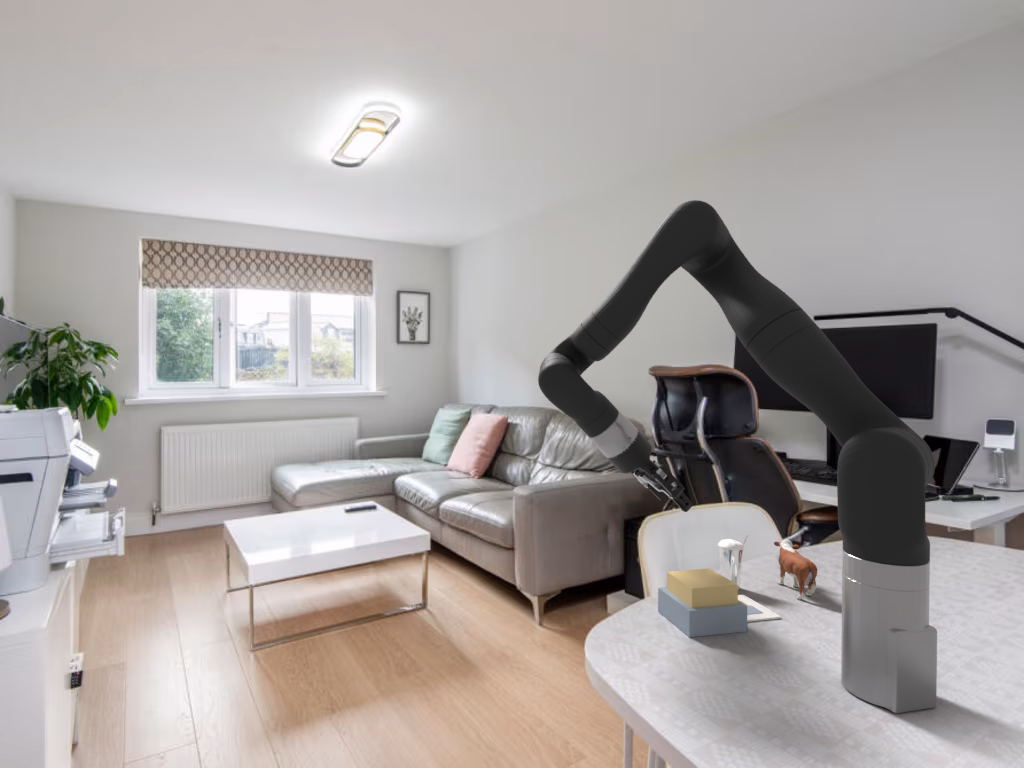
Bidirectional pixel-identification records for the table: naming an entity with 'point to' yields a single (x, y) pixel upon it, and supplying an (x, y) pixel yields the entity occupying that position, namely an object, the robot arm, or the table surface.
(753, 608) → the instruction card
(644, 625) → the table surface
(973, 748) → the table surface
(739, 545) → the milkshake
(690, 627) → the tower base
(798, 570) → the bull figurine
